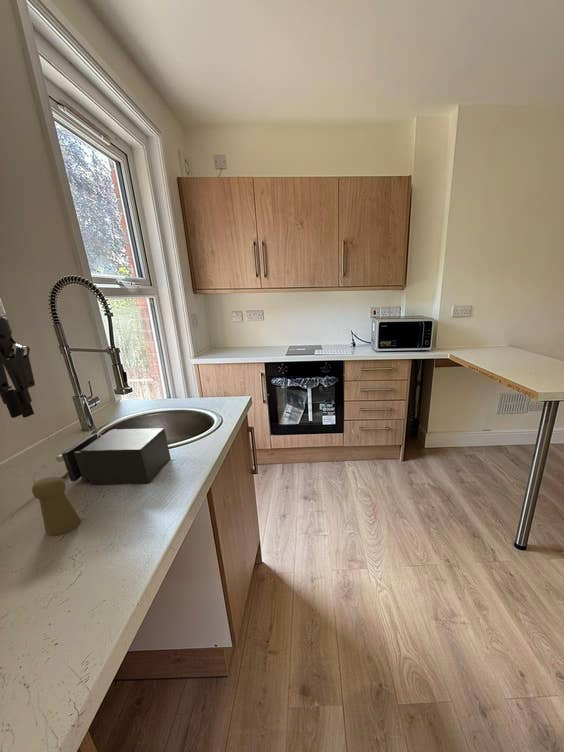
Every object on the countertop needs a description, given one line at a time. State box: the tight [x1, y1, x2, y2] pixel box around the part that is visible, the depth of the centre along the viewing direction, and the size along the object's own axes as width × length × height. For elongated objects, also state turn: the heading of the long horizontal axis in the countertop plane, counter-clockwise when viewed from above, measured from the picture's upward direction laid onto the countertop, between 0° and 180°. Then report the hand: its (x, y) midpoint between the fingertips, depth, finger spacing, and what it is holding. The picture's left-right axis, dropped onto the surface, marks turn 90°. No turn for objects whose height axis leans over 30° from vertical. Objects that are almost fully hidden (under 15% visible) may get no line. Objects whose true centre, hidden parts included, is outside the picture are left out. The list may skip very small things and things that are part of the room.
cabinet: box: [80, 427, 172, 486], centre depth 91 cm, size 15×14×10 cm
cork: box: [31, 475, 82, 537], centre depth 70 cm, size 6×6×11 cm
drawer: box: [54, 433, 104, 482], centre depth 91 cm, size 18×12×8 cm
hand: (22, 415), depth 87 cm, fingers open, 2 cm apart
